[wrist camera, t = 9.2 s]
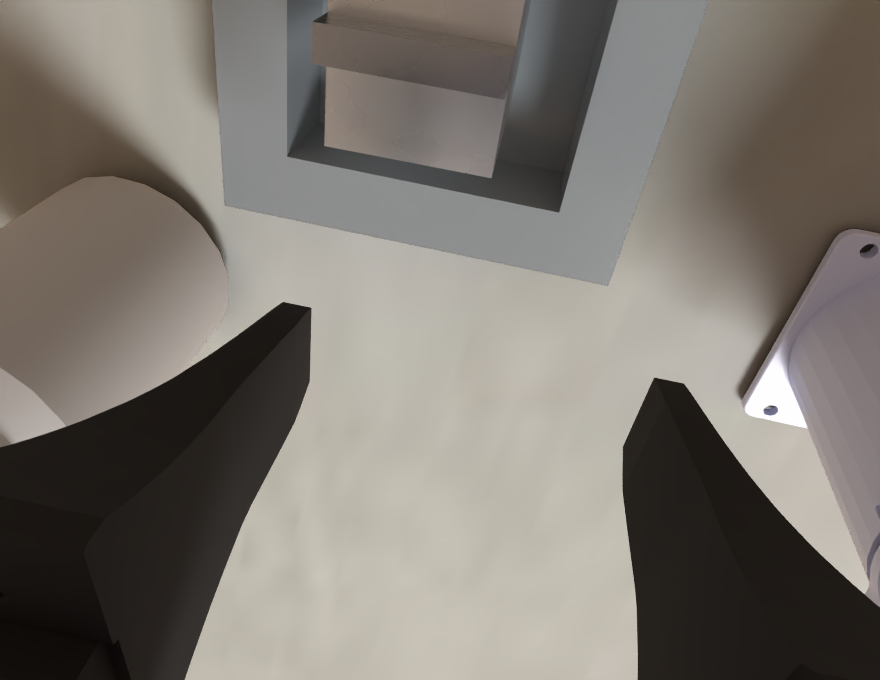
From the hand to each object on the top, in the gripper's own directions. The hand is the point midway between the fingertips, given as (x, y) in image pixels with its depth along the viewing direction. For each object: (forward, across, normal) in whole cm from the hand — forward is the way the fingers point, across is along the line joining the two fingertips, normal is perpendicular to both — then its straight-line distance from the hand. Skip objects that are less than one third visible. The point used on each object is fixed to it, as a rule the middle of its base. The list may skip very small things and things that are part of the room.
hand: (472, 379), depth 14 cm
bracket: (+10, +2, -5) cm, 12 cm away
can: (+11, +13, +6) cm, 18 cm away
